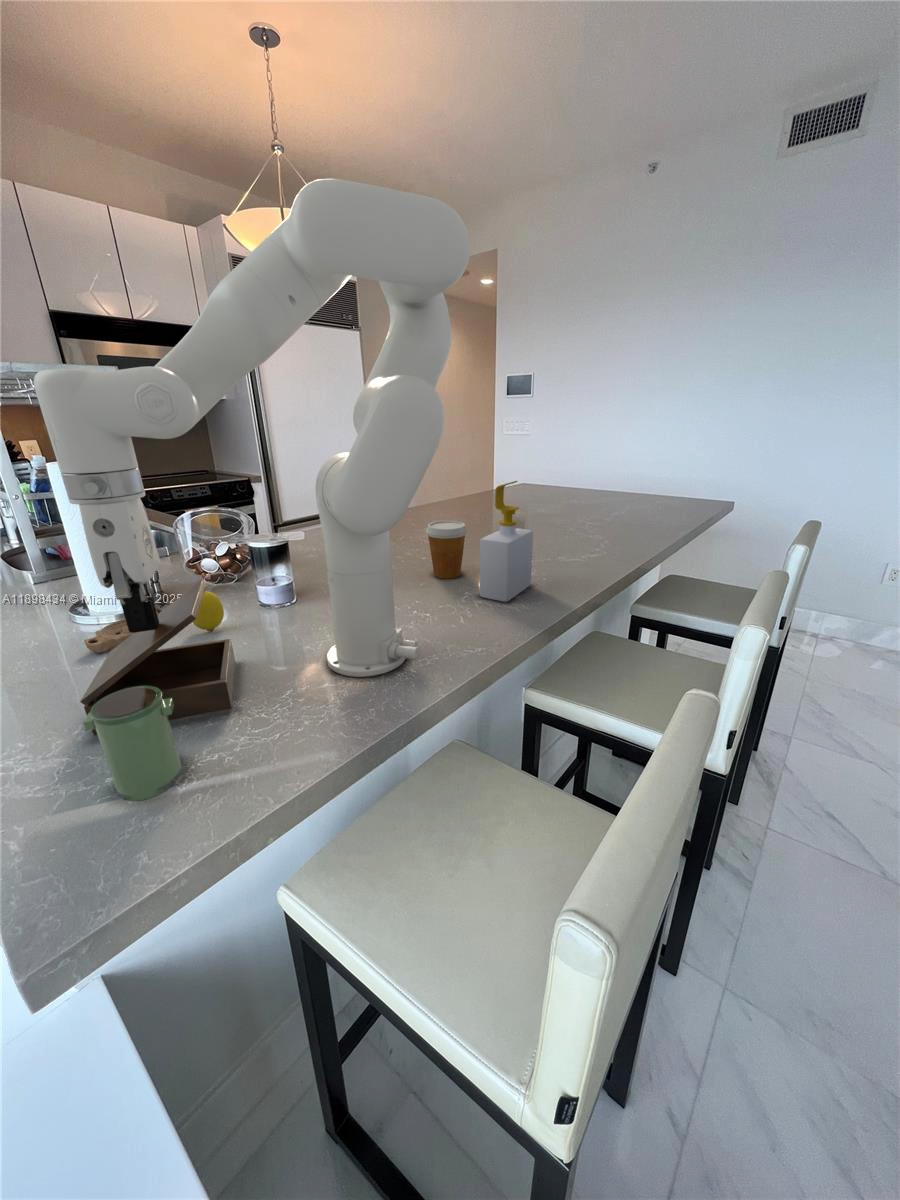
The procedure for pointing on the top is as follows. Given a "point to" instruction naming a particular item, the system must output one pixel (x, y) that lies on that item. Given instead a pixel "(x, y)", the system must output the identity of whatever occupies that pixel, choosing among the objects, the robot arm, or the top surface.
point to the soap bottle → (505, 556)
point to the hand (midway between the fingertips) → (144, 628)
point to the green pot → (136, 740)
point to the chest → (185, 678)
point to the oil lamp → (110, 636)
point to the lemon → (209, 612)
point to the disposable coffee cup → (446, 547)
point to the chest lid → (146, 641)
